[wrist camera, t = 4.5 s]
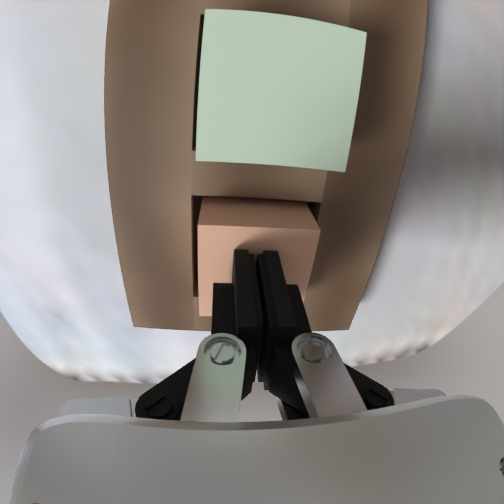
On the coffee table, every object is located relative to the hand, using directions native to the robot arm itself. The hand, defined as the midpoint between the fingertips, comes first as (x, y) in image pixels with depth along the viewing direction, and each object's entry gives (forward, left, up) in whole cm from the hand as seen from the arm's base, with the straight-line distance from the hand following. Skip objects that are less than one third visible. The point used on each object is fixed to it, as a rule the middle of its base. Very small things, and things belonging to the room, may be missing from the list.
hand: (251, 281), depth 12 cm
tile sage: (0, -7, -1) cm, 7 cm away
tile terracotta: (0, 0, -2) cm, 2 cm away
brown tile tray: (0, -7, -4) cm, 8 cm away
